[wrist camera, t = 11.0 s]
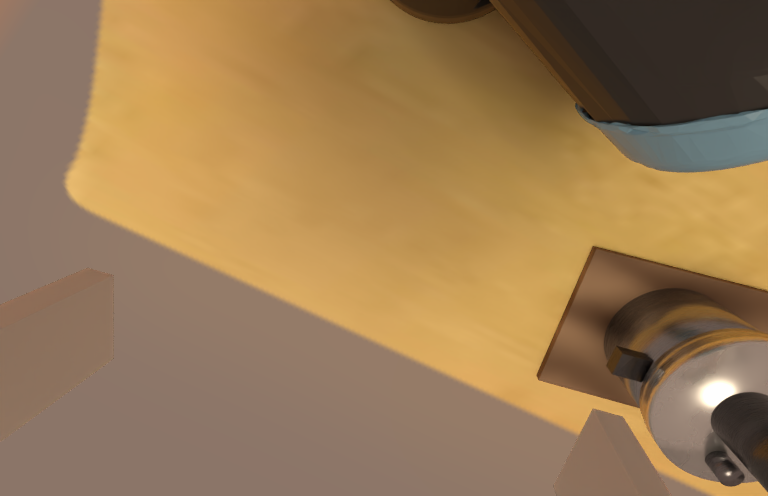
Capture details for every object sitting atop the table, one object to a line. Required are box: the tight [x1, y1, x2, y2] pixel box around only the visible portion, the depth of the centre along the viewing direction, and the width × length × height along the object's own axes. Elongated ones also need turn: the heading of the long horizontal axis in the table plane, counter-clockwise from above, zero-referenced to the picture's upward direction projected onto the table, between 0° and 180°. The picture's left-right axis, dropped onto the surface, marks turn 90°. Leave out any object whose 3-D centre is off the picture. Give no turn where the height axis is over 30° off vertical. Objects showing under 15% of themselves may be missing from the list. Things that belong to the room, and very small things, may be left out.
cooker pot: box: [604, 288, 767, 419], centre depth 34 cm, size 16×12×9 cm
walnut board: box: [537, 246, 768, 408], centre depth 39 cm, size 15×19×1 cm
